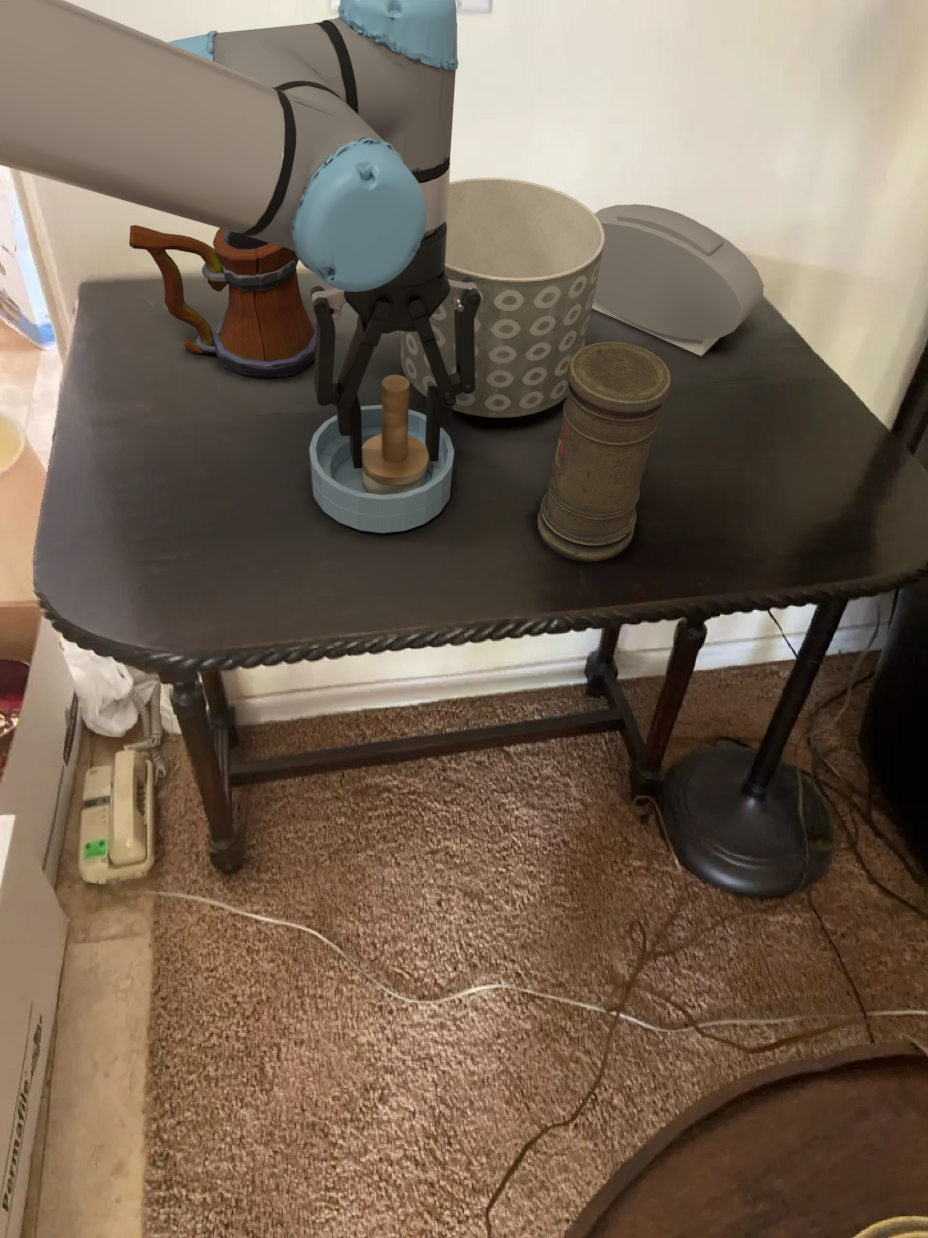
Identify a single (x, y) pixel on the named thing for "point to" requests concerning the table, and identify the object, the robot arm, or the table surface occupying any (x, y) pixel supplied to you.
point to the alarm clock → (673, 277)
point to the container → (602, 450)
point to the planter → (514, 293)
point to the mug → (240, 301)
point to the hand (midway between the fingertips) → (394, 454)
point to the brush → (394, 446)
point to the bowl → (344, 488)
